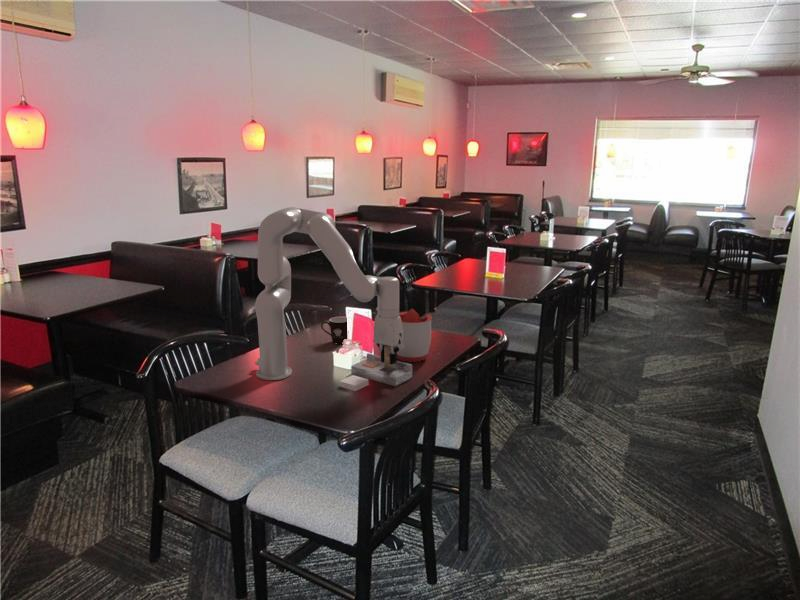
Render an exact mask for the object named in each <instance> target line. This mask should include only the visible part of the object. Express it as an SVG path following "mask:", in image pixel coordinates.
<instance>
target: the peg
mask: <svg viewBox="0 0 800 600" xmlns="http://www.w3.org/2000/svg"><path fill="white" fill-rule="evenodd" d="M390 354H391V346H387V345H384V367H386V368H392V367H393V364H392V365H391V364H390Z"/></svg>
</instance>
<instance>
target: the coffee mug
mask: <svg viewBox="0 0 800 600" xmlns="http://www.w3.org/2000/svg"><path fill="white" fill-rule="evenodd" d="M347 318H348V317H346V316H335V317H331V318H329V320H328V321H329V322H328V321H323V322H322V323H321V324H320V328H321V330H323V332H325V333H326V334H327V335H329V336H330V337H331V341H332V342H333V343H337V344H336V345H339V344H340V345H343V344H342V342H343V340H344V339H347ZM324 324H327V325H328V326H329V329H330V332H328V331H327V330H325V328H324V327H323V325H324ZM332 342H331V343H332ZM333 343H332V344H333Z"/></svg>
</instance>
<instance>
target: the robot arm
mask: <svg viewBox="0 0 800 600" xmlns="http://www.w3.org/2000/svg"><path fill="white" fill-rule="evenodd" d="M257 231H258V233H257V277H258V279H259V281H260V282H261V283H262V284H263V285H264V287H265V288H264V289H263V290H262V291H261V292H260V293H259V294H258V295H257V297H256V300H255V303H254V304H255V305H254V310H255V314H256V320H257V329H258V330H257V331H258V346H259V358H258V359H257V361H255V362H254V365H255V366H258V370H256V372H255V374H256V378H258V379H260V380H264V381H280V380H282V379H287V378H288V377H290V376H292V374H293V369H292V368H291V367H290V366H288V352H287V351H288V349H287V329H286V319H285V318H286V317H285V313H284V309H286V307H287V306H288V304H289V303H290V301H291V297H292V267H291V263H290V262H289V260H288V259H287V257H285V256H284V242H283V238H284V237H285V236H286V235H290V234H292V233H294V232H295V233H302V234H306V235H309V237H310V238H311V239H312V241H313V242H314V243H315V245H317V247H318V248H319V249H320V251H321V252H322V253H323V254H324V256H325V257H326V258H327V260H328V261H329V262H330V263H331V266H332V267H333V269H334V270H335V273H336V274H337V276H338V277H339V279H340V281H341V283H342V284H343V285H344V287H345V288H346V289H347V290H348V292H350V294H351V296H353V298H354V299H356V300H357V301H359V302H361V303H368V302H370V301H372V300H373V299H374V298H375V296H377V307H375V311H377V314H376V315H375V319H374V323H373V336H372V337H373V339H372V342H373V343H374V344H375V345H376V346H377V347H378V350H379V351H380V356H381V362H384V345H387V346H391V354H390V364H391V365H392V364H394V363H396V361H398V358H397V352H398V351H399V350H400V349H402V348H404V347H405V345H404V343H403V329H402V321H401V317H400V316H399V312H400V280H399V279H398V278H397V277H395V276H375V275H370V274H367V275H365V274H364V273H363V271H362V270H361V269H360V267H359V265H358V263H357V261H356V259H355V255H354V252H353V250H352V247H351V246H350V245H349V243H348V242H347V241H346V240H345V239H344V236H343V235H342V234H341V233H340V232H339V231H338V229H337V228H336V221H335V219H334V218H333V216H332V215H331V214H328V213H326V212H321V211H315V210H310V209H305V208H301V207H300V208H299V207H292V206H291V207H285V208H281V209H279V210H277V211H274V212H272V213H270V214H269V215H267V216H266V217H264V218H263V220H262V221H261V222H260V225H259V227H258V230H257ZM398 344H399V346H398ZM394 348H395V349H394Z"/></svg>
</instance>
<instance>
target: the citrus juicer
mask: <svg viewBox="0 0 800 600" xmlns="http://www.w3.org/2000/svg"><path fill="white" fill-rule="evenodd" d="M399 316H400V317H401V321H402V329H403V343H404V345H405V347H404V348H402V349H400V350H399V351H398V352H397V360H398V361H401V362H406V361H407V362H406V363H413V362H414V363H417V361H418V362H422V361H424V360H426V359H427V356H428V354H429V350H430V346H431V340H432V319H433V316H432V315H431V314H429V313H427V314H426V315H424V317H423V318H422V317H420V315H419V313H418V312H417V311H416V310H415V309H414V308H410V309H409V310H408V311H399ZM398 346H399V344H398ZM394 349H395V348H394ZM421 360H422V361H421Z"/></svg>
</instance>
